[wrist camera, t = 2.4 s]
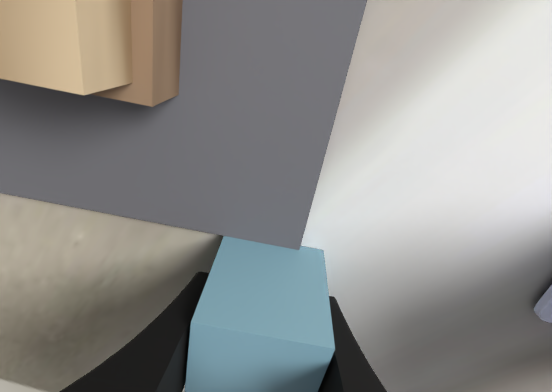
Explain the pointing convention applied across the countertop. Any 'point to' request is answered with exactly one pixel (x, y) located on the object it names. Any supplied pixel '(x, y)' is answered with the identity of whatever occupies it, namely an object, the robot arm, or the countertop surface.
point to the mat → (198, 126)
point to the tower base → (152, 53)
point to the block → (261, 321)
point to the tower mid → (66, 44)
